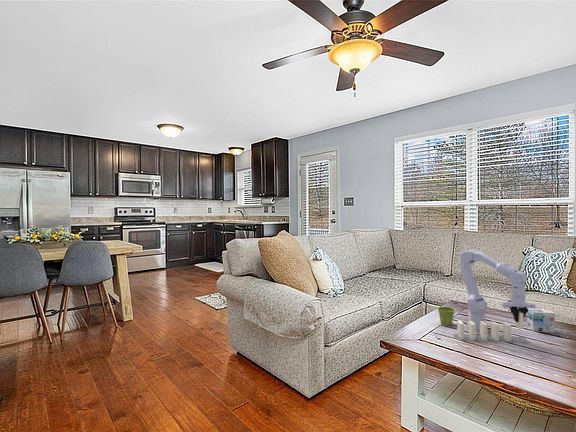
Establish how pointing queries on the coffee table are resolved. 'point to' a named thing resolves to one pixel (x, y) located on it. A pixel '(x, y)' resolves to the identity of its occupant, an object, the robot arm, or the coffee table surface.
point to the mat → (490, 339)
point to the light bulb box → (541, 320)
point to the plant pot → (446, 315)
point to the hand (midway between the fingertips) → (518, 321)
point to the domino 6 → (520, 321)
